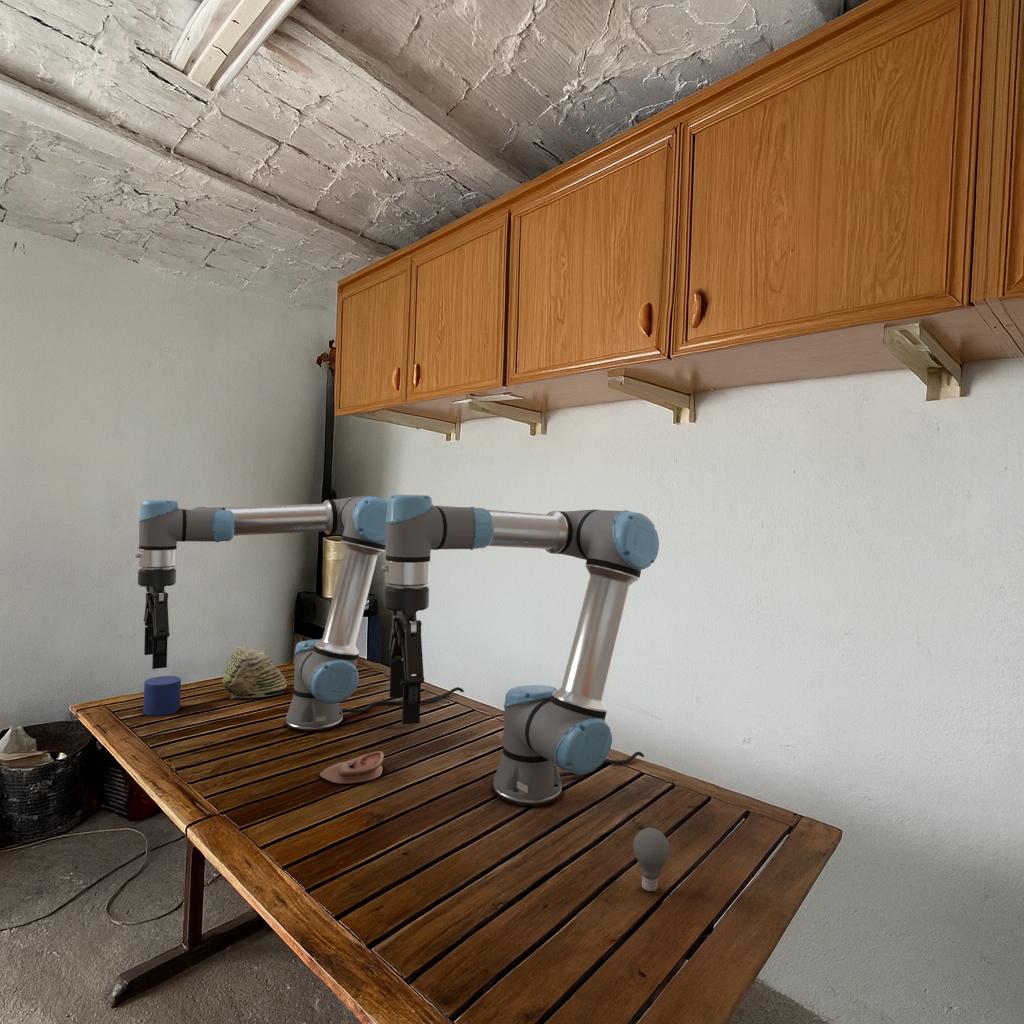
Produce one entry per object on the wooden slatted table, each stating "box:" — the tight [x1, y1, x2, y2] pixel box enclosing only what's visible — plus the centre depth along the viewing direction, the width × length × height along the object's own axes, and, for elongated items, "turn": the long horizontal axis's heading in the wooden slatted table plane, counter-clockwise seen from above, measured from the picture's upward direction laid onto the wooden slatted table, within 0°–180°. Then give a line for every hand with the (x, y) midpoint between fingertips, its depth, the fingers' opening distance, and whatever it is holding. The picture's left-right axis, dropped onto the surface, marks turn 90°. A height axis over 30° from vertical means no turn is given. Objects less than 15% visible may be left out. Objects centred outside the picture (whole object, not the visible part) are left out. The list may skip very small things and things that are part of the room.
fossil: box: [222, 646, 288, 699], centre depth 198 cm, size 9×18×15 cm, turn 132°
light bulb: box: [632, 827, 671, 892], centre depth 106 cm, size 6×6×10 cm
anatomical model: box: [319, 750, 385, 785], centre depth 145 cm, size 13×4×12 cm
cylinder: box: [142, 675, 182, 717], centre depth 181 cm, size 9×9×9 cm
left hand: (155, 661), depth 144 cm, fingers open, 13 cm apart
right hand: (403, 709), depth 108 cm, fingers open, 13 cm apart
